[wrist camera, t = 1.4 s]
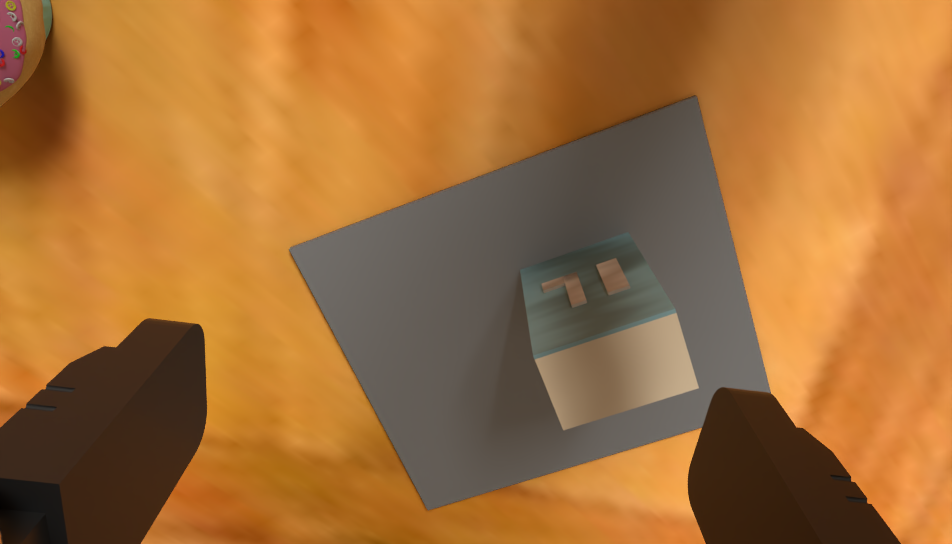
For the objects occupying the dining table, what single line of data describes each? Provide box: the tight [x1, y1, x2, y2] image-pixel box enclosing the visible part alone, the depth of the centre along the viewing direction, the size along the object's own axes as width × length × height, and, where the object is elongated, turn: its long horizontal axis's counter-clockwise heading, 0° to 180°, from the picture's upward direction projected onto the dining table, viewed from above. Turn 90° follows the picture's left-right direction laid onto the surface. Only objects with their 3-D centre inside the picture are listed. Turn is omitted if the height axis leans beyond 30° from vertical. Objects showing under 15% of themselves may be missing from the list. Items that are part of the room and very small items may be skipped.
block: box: [520, 232, 699, 430], centre depth 32 cm, size 6×4×9 cm
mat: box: [289, 96, 771, 510], centre depth 37 cm, size 22×19×1 cm
